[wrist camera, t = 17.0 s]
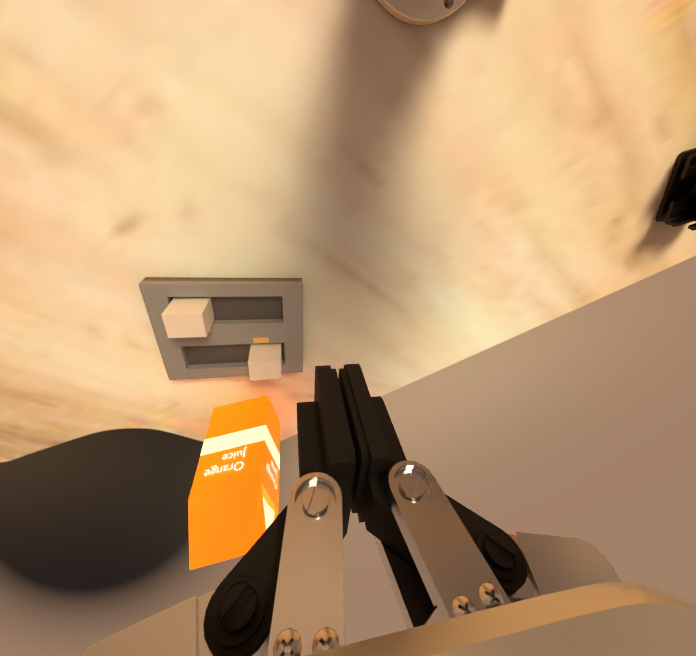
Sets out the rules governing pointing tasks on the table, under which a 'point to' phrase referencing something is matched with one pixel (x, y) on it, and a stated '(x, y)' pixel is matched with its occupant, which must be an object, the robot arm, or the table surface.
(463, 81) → the table surface
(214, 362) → the switch board
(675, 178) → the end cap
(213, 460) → the orange juice
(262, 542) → the robot arm
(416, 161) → the table surface
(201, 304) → the tab
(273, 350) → the tab
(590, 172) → the table surface
